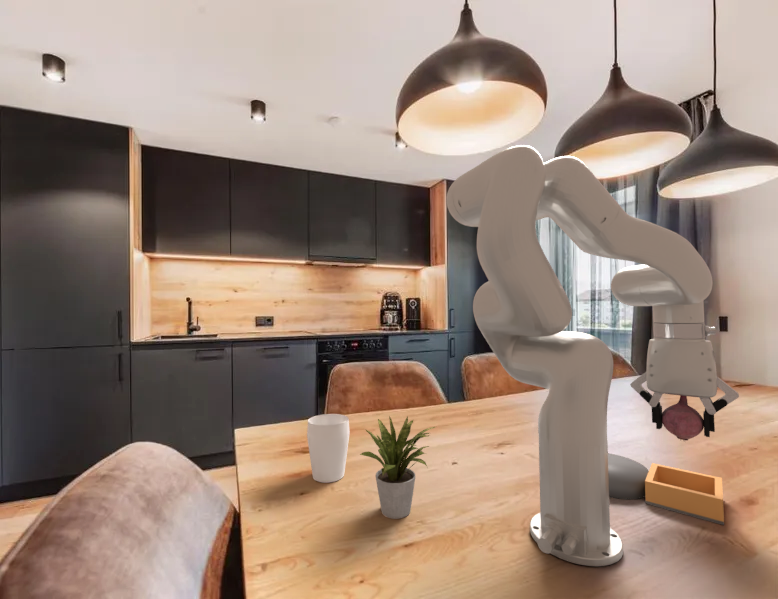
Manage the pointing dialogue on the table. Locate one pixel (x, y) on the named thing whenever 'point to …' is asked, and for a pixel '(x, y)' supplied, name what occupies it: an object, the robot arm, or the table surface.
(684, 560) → the table surface
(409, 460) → the house plant
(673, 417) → the vegetable
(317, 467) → the cup
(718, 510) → the dome with orange frame
